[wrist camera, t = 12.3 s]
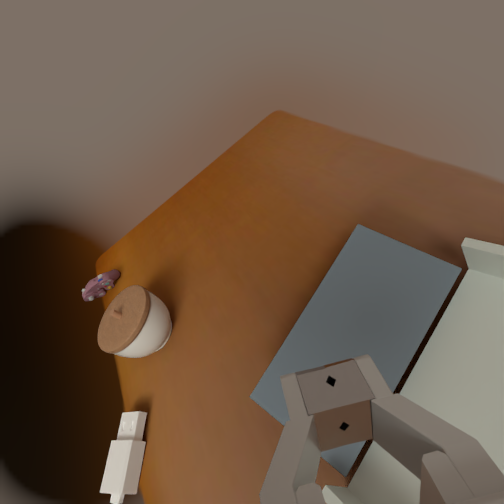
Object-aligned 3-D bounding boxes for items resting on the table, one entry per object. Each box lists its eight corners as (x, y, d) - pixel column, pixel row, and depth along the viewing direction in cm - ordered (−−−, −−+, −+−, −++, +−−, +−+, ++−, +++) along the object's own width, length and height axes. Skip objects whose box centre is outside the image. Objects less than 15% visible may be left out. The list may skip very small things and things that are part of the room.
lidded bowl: (171, 292, 71) (128, 268, 63) (191, 330, 61) (143, 306, 54) (131, 336, 71) (84, 316, 64) (144, 381, 61) (91, 364, 54)
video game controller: (101, 304, 89) (78, 303, 83) (95, 290, 91) (72, 288, 84) (126, 282, 87) (105, 280, 81) (120, 268, 89) (99, 265, 82)
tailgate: (462, 268, 36) (357, 223, 41) (345, 477, 32) (249, 396, 38) (457, 275, 38) (358, 231, 43) (347, 472, 34) (255, 396, 40)
